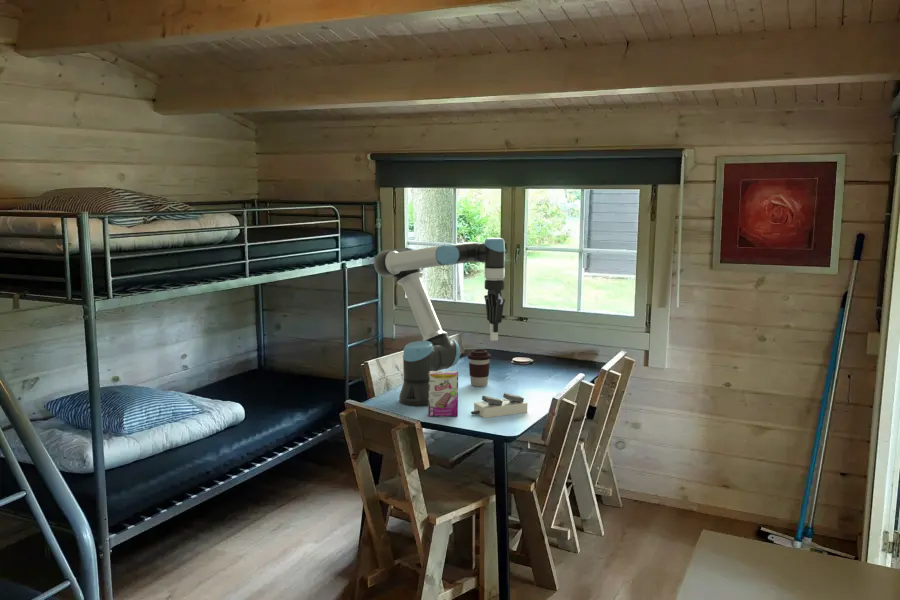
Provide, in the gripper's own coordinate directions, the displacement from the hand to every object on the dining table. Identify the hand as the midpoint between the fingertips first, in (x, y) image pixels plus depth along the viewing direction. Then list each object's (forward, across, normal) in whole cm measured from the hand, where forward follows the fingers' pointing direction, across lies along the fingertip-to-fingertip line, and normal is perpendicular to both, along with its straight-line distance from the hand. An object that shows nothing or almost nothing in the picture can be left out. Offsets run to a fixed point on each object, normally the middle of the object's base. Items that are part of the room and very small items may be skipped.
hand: (494, 340), depth 280 cm
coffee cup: (+27, +32, -9) cm, 43 cm away
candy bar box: (+27, -2, +22) cm, 35 cm away
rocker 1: (+21, -9, +5) cm, 23 cm away
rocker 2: (+21, -9, -4) cm, 23 cm away
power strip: (+26, -7, +2) cm, 27 cm away
